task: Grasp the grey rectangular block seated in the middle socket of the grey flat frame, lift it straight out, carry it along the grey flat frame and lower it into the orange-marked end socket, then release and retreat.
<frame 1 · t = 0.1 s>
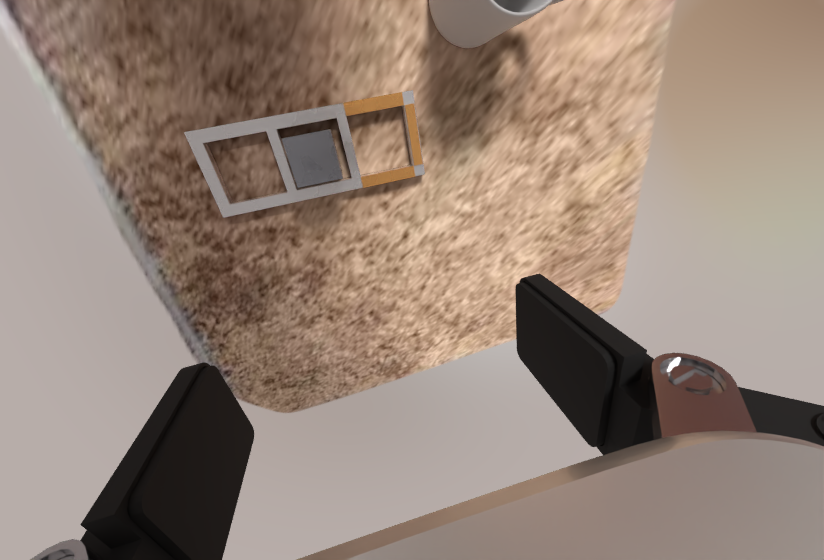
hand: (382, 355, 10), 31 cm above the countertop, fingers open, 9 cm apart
mug: (483, 0, 32), on the countertop
grey rectangular block: (316, 154, 35), resting in grey flat frame
grey flat frame: (316, 154, 35), on the countertop
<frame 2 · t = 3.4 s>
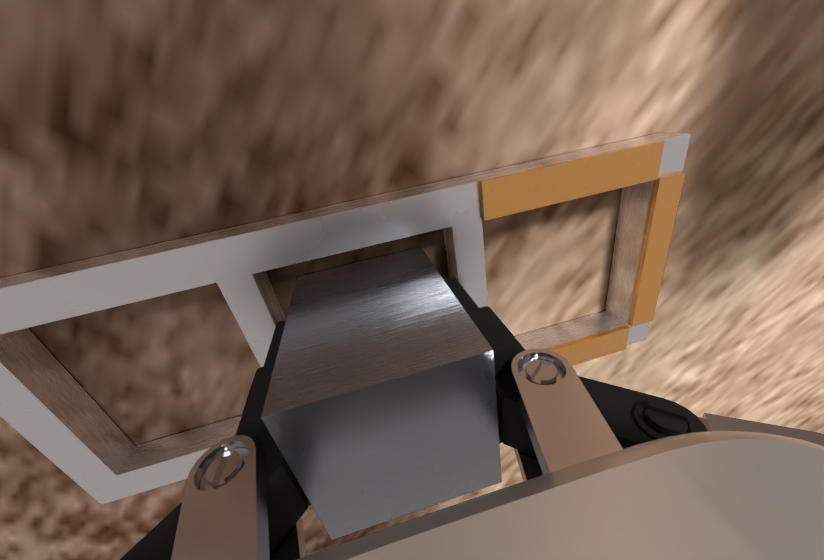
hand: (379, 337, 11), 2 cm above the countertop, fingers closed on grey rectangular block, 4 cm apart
grey rectangular block: (374, 312, 12), resting in grey flat frame, touching gripper
grey flat frame: (374, 312, 12), on the countertop
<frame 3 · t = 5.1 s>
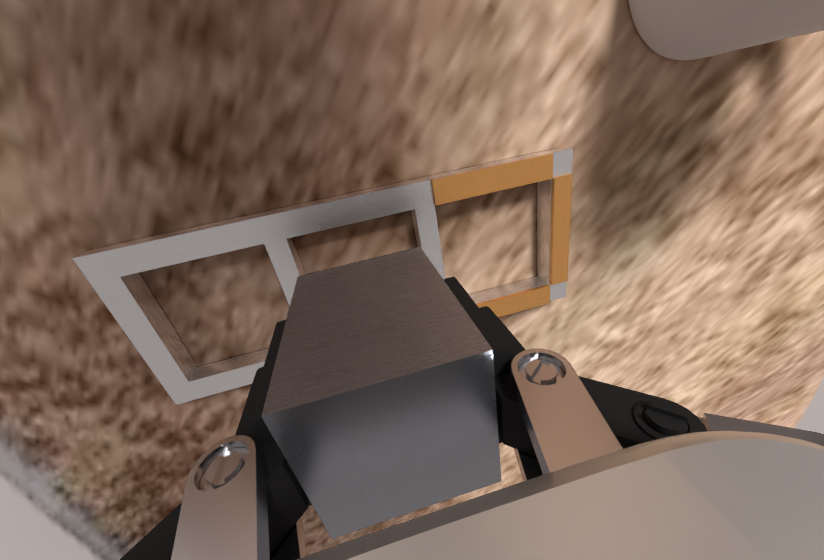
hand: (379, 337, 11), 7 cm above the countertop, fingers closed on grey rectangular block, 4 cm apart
grey rectangular block: (374, 312, 12), point 6 cm above the countertop, touching gripper
grey flat frame: (365, 272, 17), on the countertop
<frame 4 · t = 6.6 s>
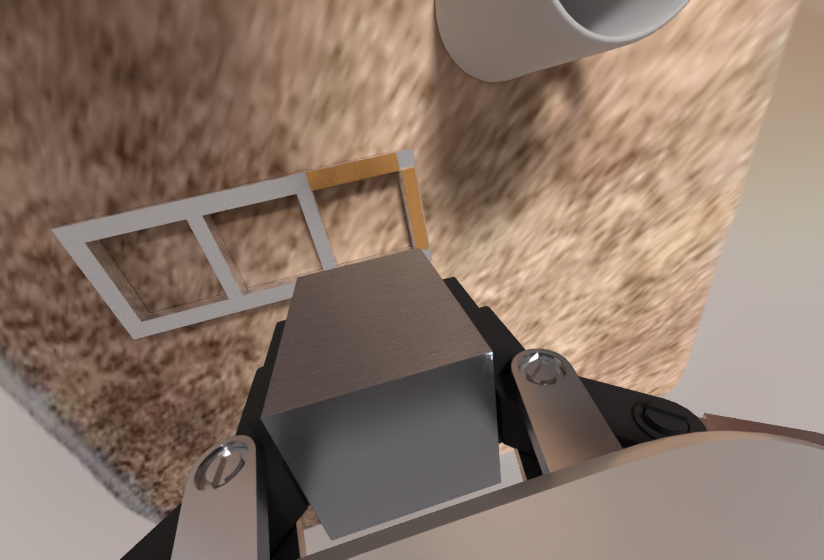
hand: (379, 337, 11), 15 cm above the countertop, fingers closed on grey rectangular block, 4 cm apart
mug: (520, 10, 21), on the countertop
grey rectangular block: (373, 313, 12), point 14 cm above the countertop, touching gripper
grey flat frame: (271, 241, 24), on the countertop
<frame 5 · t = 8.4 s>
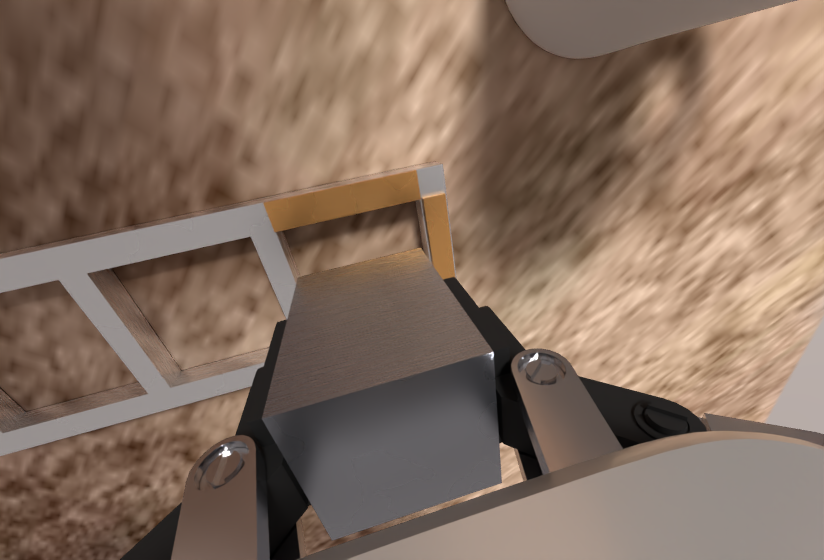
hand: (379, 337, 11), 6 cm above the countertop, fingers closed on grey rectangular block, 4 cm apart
grey rectangular block: (374, 313, 12), point 4 cm above the countertop, touching gripper
grey flat frame: (216, 304, 15), on the countertop
when the fingers open (2 cm above the countertop, at t = 10.1 s): grey rectangular block stays where it is, resting in grey flat frame.
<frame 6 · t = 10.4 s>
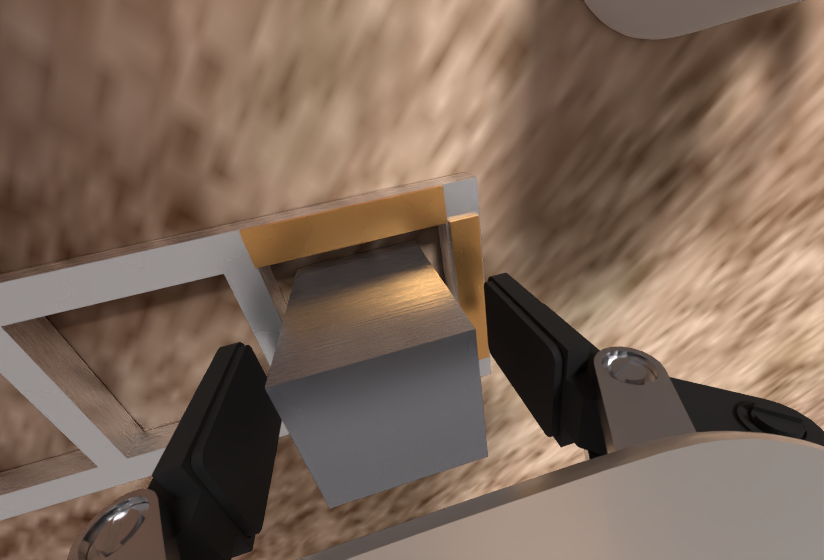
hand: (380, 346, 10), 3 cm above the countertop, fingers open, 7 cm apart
grey rectangular block: (370, 303, 13), resting in grey flat frame
grey flat frame: (185, 353, 12), on the countertop
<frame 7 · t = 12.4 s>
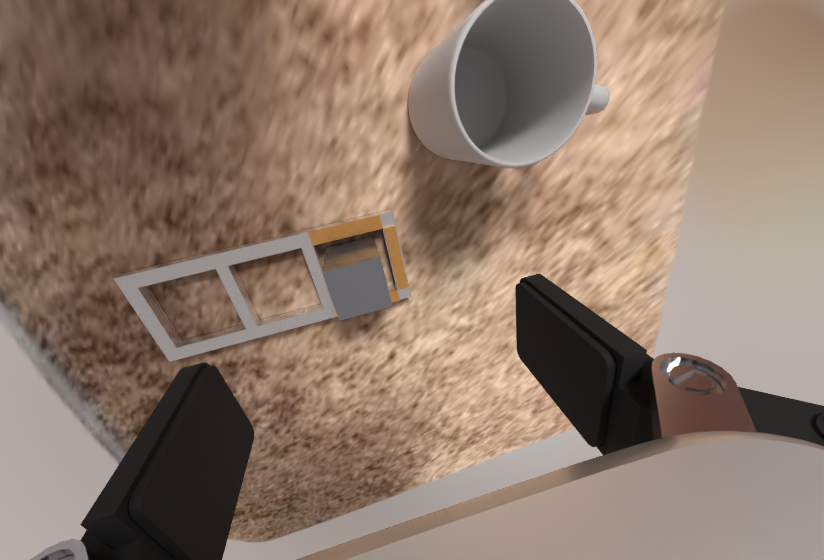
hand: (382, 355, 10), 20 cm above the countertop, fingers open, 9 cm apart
mug: (475, 106, 27), on the countertop
grey rectangular block: (356, 263, 30), resting in grey flat frame
grey flat frame: (280, 283, 29), on the countertop
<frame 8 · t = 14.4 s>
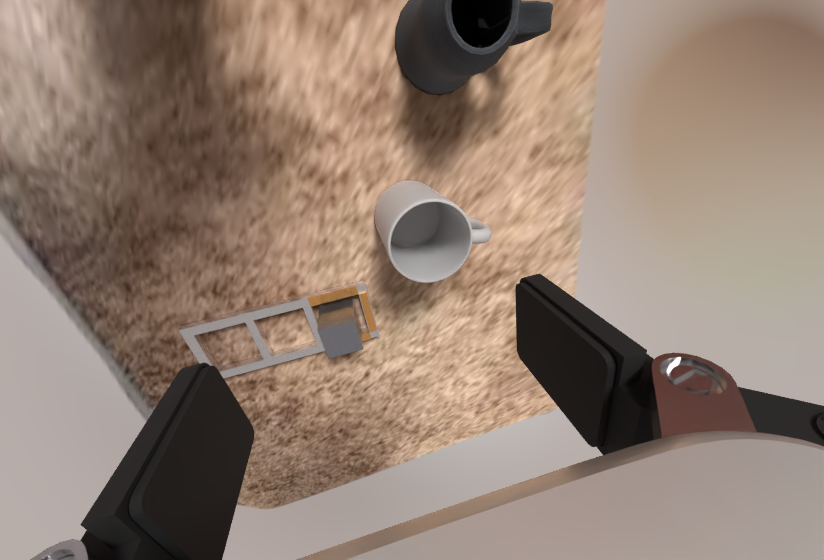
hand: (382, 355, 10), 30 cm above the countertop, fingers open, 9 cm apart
mug: (421, 214, 40), on the countertop
grey rectangular block: (340, 314, 43), resting in grey flat frame
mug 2: (451, 43, 33), on the countertop
grey flat frame: (288, 328, 43), on the countertop
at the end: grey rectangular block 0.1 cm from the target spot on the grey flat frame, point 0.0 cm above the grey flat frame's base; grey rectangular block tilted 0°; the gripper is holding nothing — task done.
